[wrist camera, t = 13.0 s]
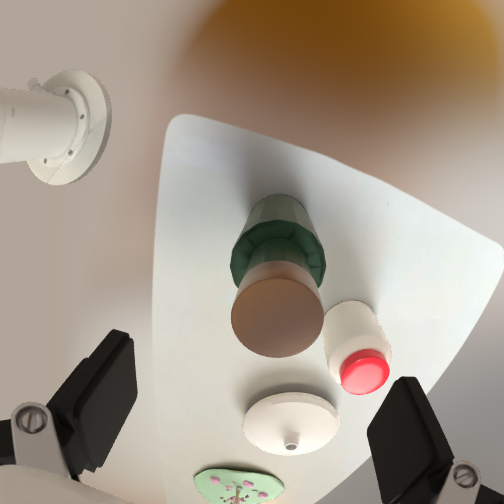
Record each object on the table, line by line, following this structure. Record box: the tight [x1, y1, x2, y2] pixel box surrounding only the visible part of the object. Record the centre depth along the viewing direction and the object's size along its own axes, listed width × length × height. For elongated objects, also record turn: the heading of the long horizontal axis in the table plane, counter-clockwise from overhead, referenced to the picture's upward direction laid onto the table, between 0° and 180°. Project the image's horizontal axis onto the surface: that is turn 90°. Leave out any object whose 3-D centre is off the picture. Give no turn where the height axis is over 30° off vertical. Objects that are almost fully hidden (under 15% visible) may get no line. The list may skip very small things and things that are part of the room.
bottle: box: [230, 194, 326, 288], centre depth 27 cm, size 7×7×20 cm
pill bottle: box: [321, 301, 392, 395], centre depth 34 cm, size 8×8×11 cm
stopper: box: [231, 261, 324, 358], centre depth 18 cm, size 5×5×7 cm
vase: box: [242, 392, 340, 455], centre depth 42 cm, size 16×16×7 cm
